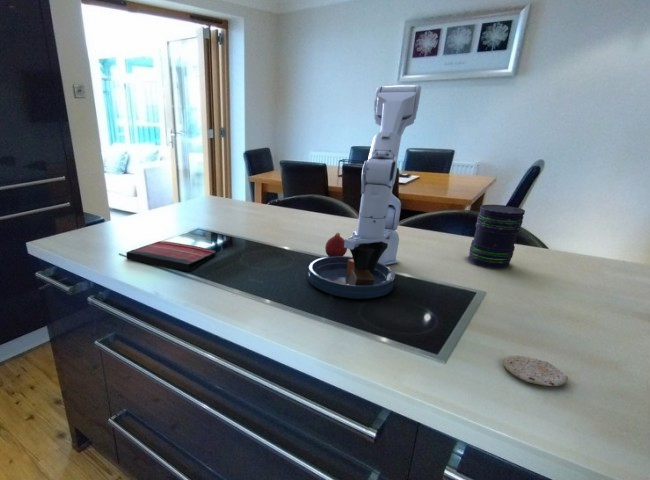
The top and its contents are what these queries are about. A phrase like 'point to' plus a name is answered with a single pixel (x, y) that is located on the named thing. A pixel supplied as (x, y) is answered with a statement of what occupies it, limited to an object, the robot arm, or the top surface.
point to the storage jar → (495, 236)
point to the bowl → (334, 280)
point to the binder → (171, 255)
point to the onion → (335, 246)
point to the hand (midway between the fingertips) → (364, 273)
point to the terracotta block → (350, 266)
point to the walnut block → (360, 277)
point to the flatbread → (534, 371)
